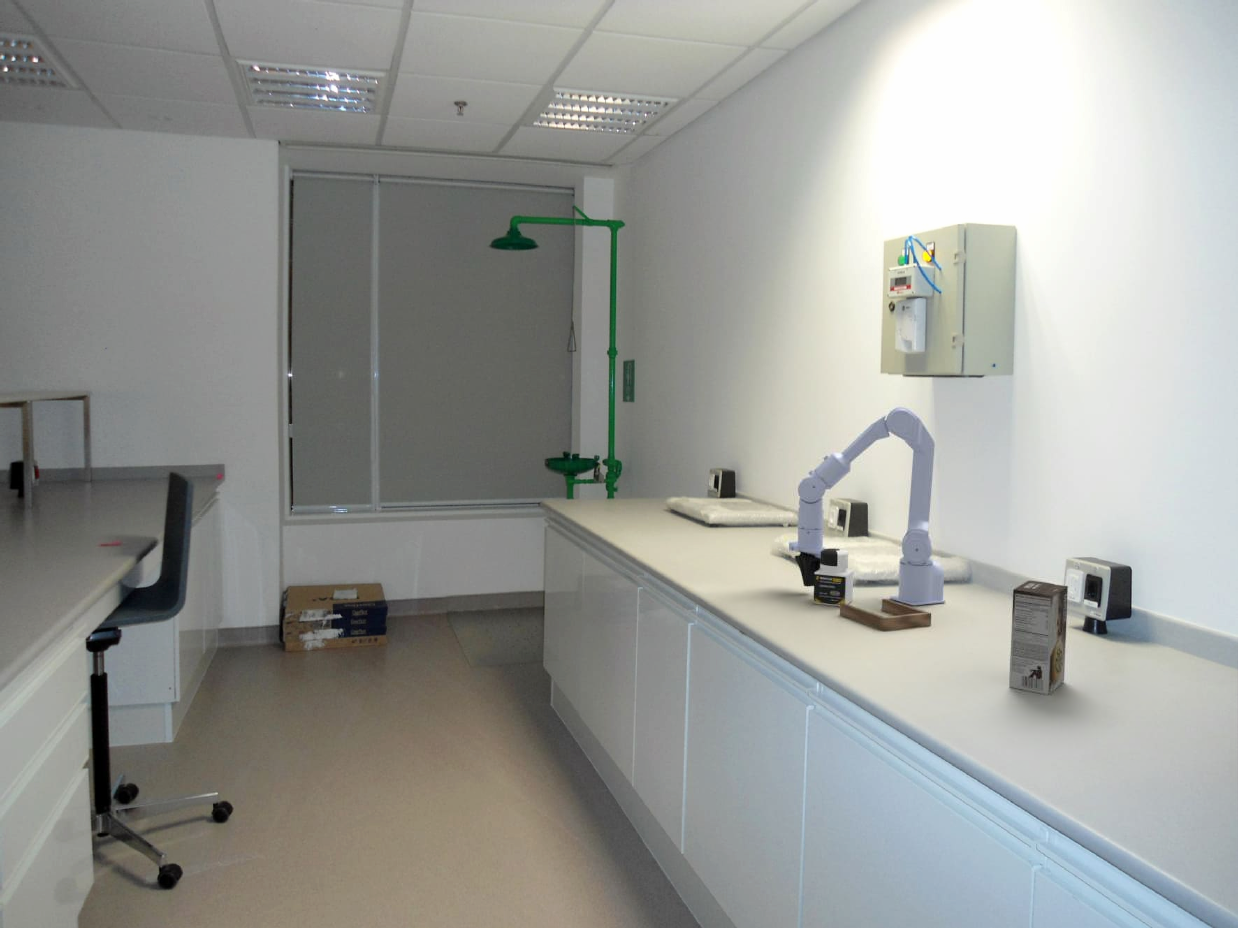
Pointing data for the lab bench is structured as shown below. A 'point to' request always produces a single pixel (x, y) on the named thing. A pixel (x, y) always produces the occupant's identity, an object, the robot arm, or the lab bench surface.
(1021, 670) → the coffee box
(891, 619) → the frame
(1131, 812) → the lab bench surface
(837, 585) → the medicine bottle
